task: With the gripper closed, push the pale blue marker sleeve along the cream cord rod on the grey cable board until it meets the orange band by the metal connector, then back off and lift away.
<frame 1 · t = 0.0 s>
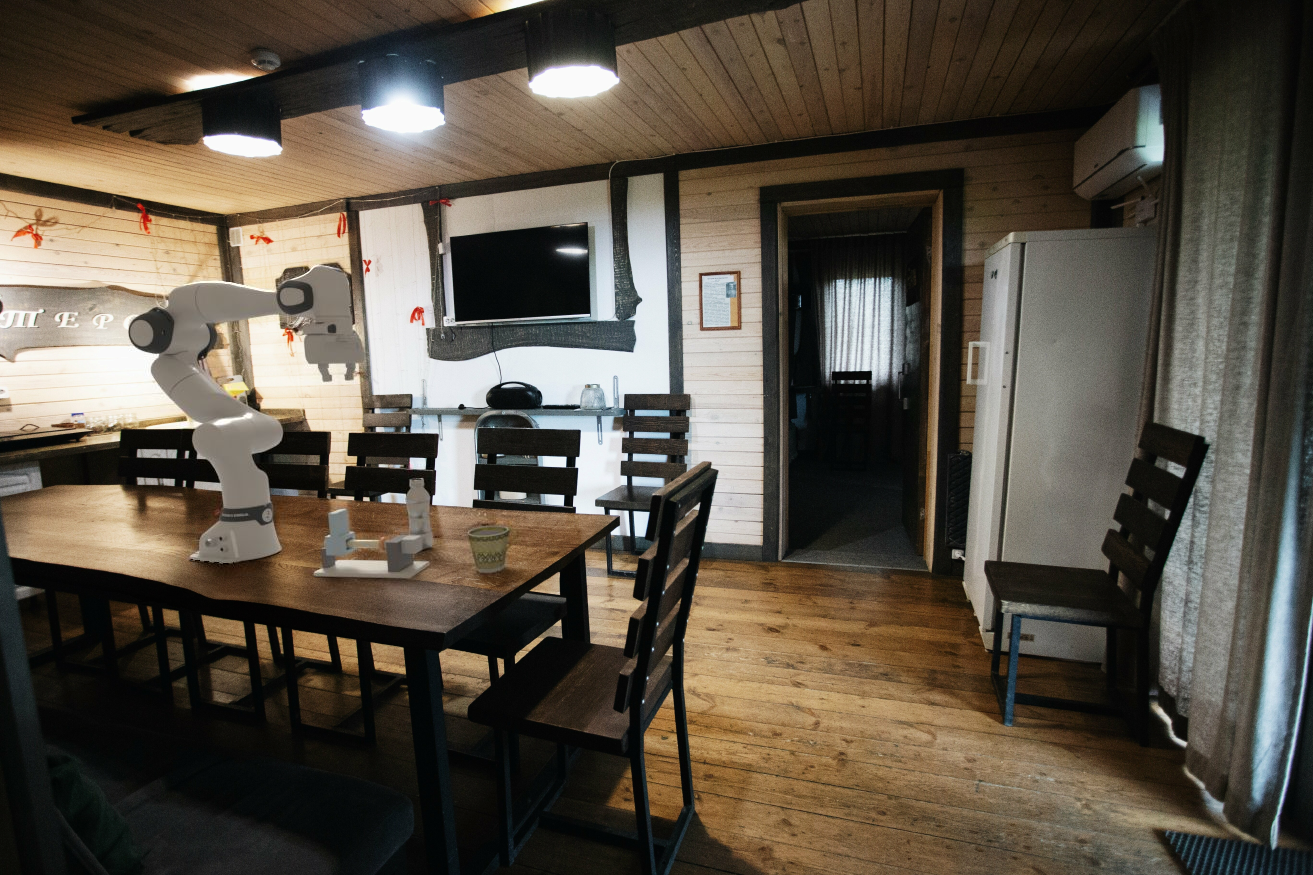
hand: (338, 381, 171), 48 cm above the table, tool pointing down, fingers open, 8 cm apart
plastic bottle: (421, 549, 182), on the table
marker sleeve: (339, 531, 163), point 10 cm above the table, slide at 0.0 cm
ceramic cup: (496, 568, 163), on the table
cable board: (373, 570, 163), on the table
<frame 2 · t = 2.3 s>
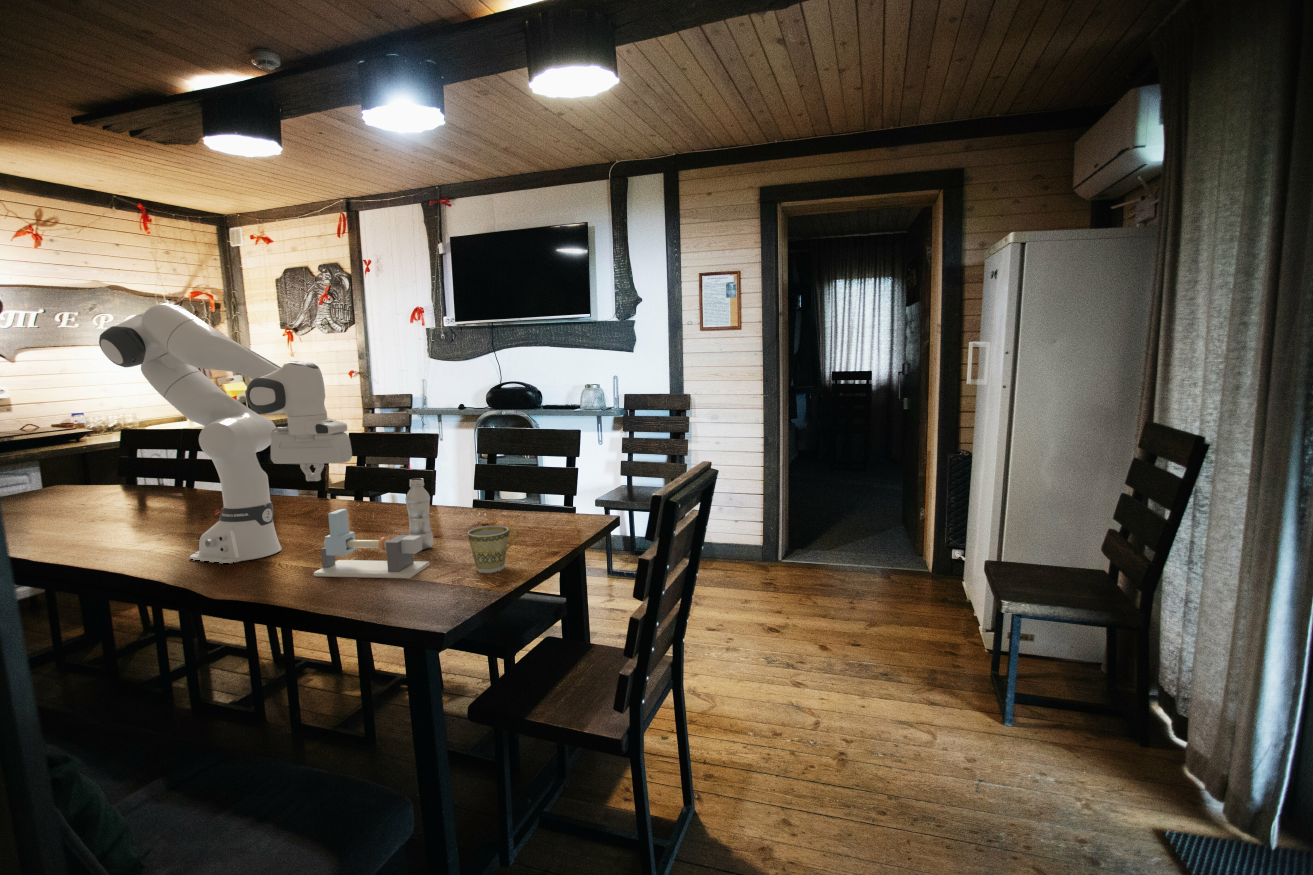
hand: (313, 480, 162), 23 cm above the table, tool pointing down, fingers closed
nothing on the table moved.
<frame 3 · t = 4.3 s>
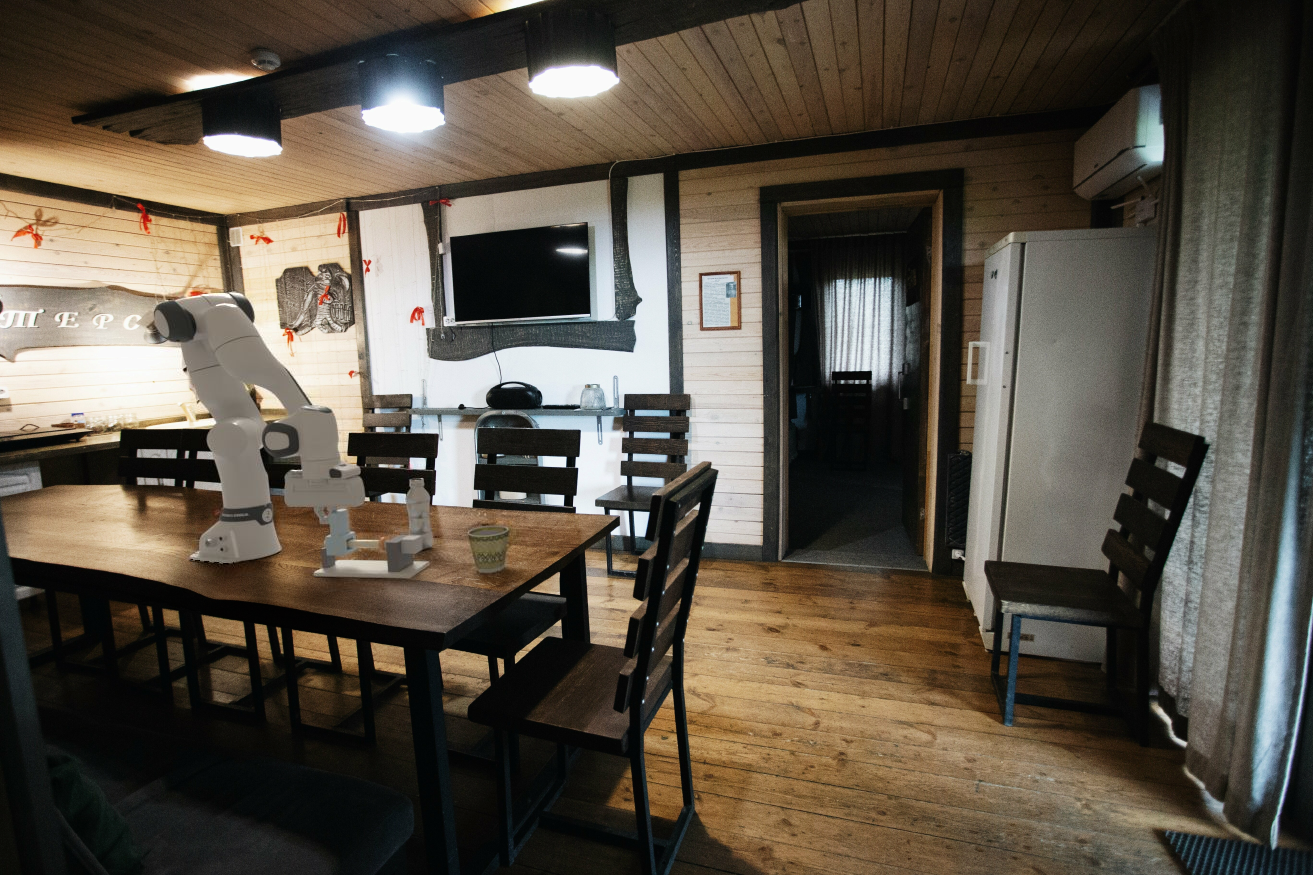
hand: (327, 523, 163), 12 cm above the table, tool pointing down, fingers closed
marker sleeve: (340, 531, 163), point 10 cm above the table, slide at 0.1 cm, touching gripper
everything else where it was.
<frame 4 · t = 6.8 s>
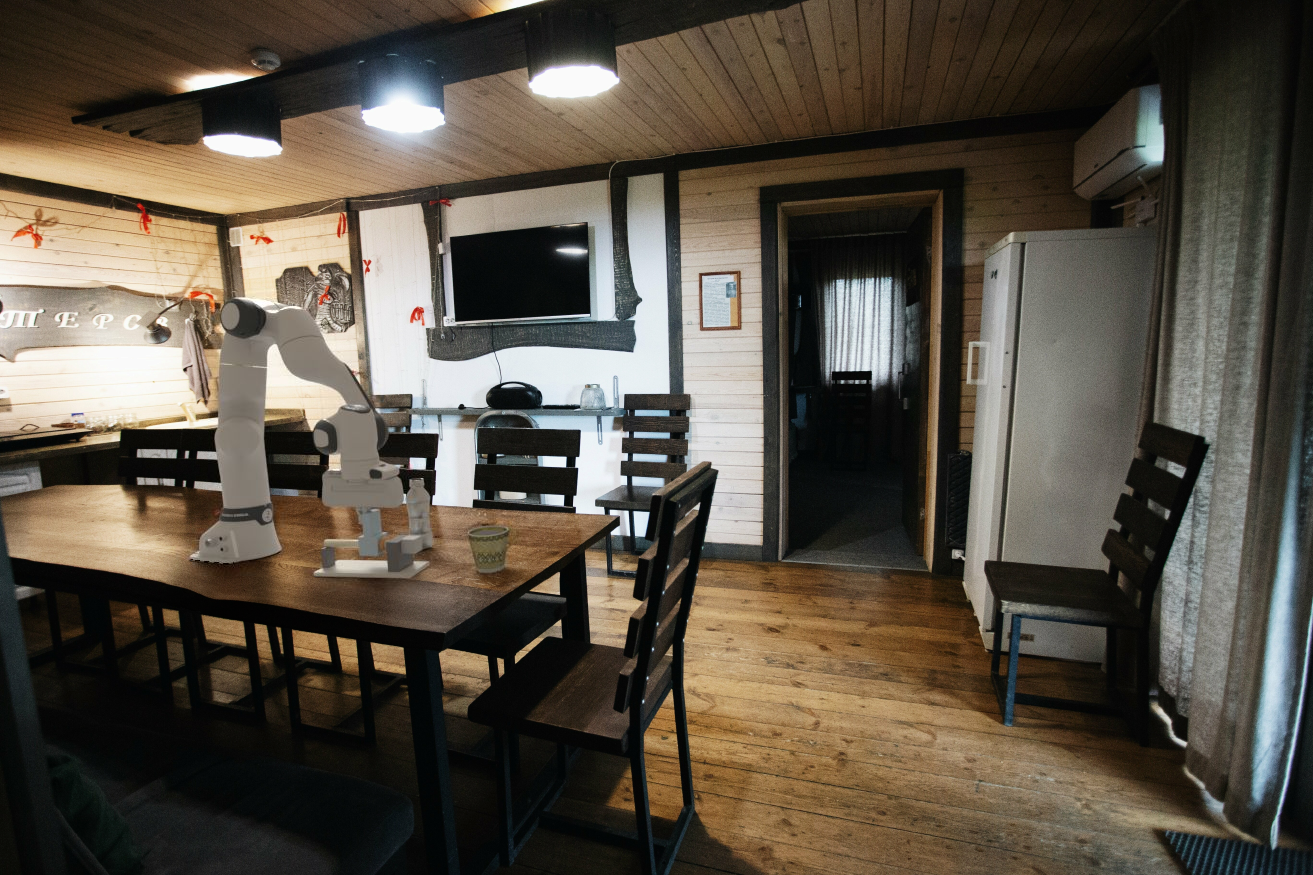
hand: (364, 523, 162), 12 cm above the table, tool pointing down, fingers closed, pressing on marker sleeve
marker sleeve: (372, 532, 162), point 10 cm above the table, slide at 9.0 cm, touching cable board, gripper
everything else where it was.
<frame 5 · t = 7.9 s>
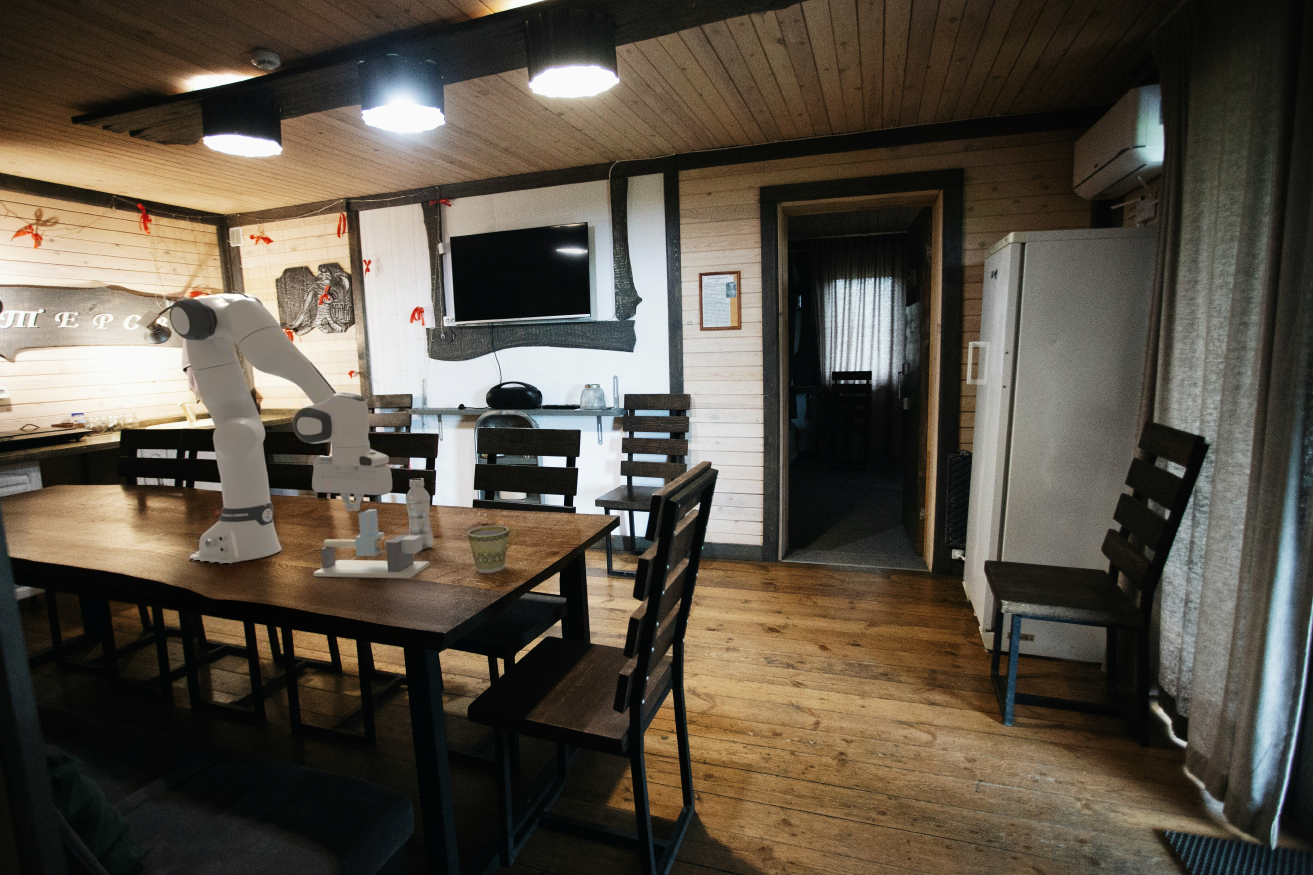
hand: (352, 510, 165), 15 cm above the table, tool pointing down, fingers closed
marker sleeve: (369, 532, 162), point 10 cm above the table, slide at 8.2 cm
everything else where it was.
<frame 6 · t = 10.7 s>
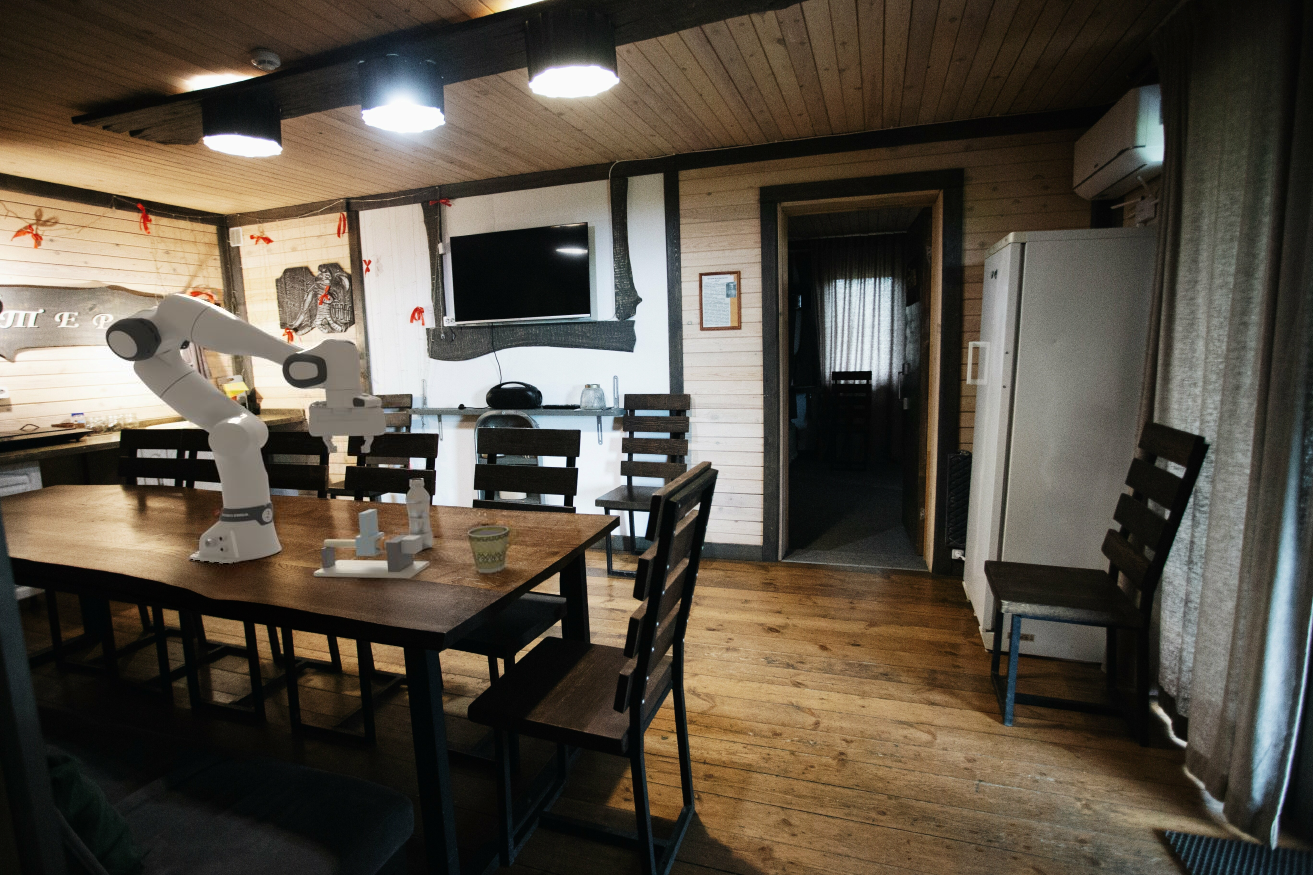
hand: (349, 452, 170), 29 cm above the table, tool pointing down, fingers open, 8 cm apart
nothing on the table moved.
at the end: marker sleeve slide at 8.2 cm; the gripper is holding nothing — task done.
